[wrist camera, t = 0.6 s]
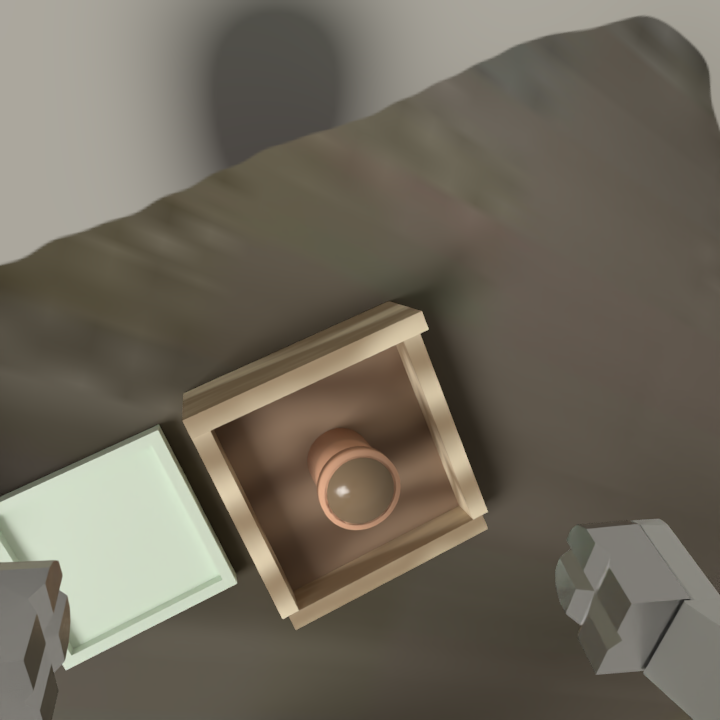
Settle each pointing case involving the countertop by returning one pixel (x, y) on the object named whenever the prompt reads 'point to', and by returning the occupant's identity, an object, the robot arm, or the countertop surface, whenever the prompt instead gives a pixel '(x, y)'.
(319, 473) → the seedling pot
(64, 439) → the countertop surface
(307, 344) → the wooden box
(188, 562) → the sage tray
